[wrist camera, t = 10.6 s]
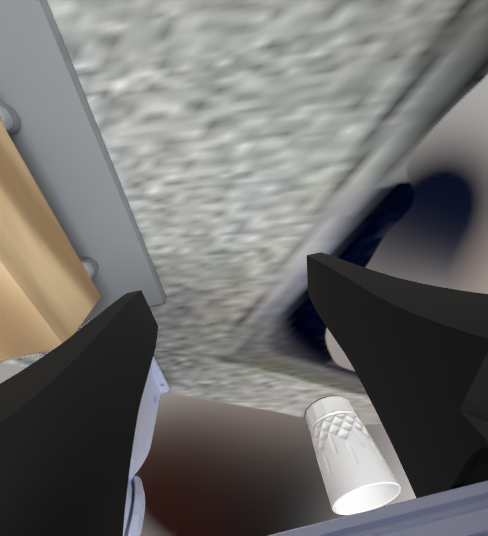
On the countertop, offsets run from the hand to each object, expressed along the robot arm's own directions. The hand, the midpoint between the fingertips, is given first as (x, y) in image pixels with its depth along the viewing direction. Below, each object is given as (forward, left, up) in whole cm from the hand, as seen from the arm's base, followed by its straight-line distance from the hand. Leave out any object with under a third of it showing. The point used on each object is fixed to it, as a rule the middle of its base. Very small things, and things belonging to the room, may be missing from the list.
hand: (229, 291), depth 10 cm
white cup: (-31, -9, -11) cm, 34 cm away
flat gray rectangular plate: (+4, +12, -10) cm, 16 cm away
